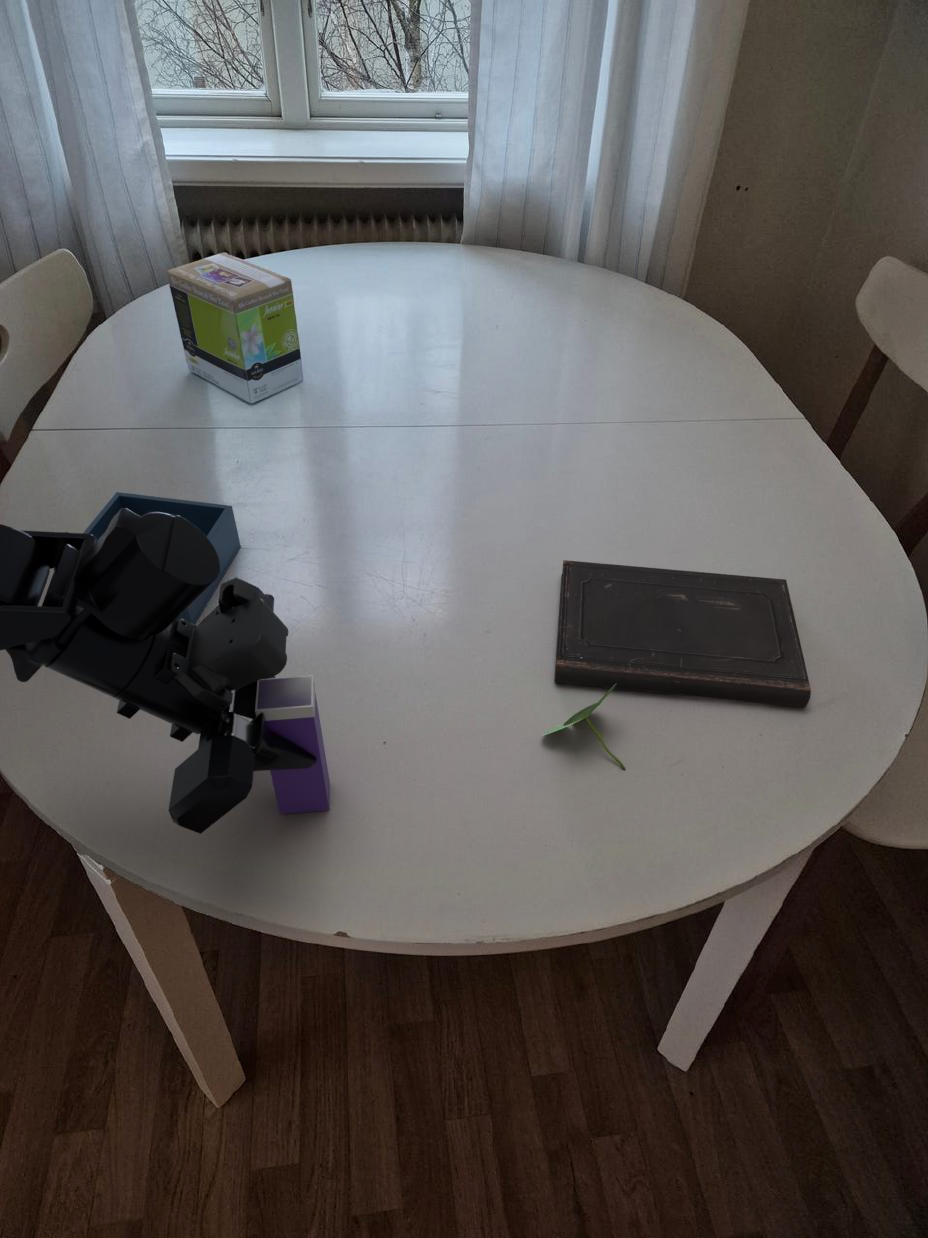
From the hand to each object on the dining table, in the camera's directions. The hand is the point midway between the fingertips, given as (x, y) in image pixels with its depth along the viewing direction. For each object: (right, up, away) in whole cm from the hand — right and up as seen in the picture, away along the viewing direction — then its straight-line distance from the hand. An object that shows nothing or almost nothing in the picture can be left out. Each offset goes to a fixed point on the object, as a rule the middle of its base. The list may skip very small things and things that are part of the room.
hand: (313, 746), depth 67 cm
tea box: (-20, +45, +57) cm, 75 cm away
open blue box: (-21, +14, +25) cm, 35 cm away
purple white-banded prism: (-1, -5, +4) cm, 7 cm away
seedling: (+22, -1, +9) cm, 24 cm away
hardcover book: (+33, +8, +19) cm, 38 cm away
